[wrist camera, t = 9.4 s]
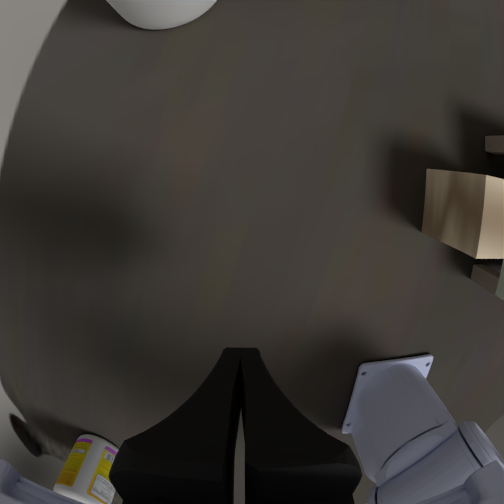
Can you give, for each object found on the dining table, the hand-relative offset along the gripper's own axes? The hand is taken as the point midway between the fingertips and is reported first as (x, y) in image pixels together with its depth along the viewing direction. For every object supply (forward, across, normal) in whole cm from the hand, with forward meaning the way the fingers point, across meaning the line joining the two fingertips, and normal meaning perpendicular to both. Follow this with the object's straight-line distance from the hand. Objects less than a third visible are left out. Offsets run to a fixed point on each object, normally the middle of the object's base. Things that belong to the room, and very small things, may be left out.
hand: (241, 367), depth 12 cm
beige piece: (+11, -23, -6) cm, 26 cm away
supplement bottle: (+11, +18, +24) cm, 32 cm away
